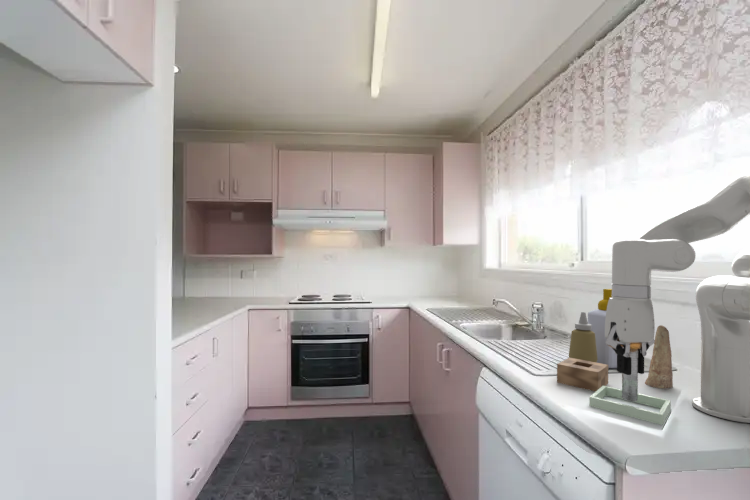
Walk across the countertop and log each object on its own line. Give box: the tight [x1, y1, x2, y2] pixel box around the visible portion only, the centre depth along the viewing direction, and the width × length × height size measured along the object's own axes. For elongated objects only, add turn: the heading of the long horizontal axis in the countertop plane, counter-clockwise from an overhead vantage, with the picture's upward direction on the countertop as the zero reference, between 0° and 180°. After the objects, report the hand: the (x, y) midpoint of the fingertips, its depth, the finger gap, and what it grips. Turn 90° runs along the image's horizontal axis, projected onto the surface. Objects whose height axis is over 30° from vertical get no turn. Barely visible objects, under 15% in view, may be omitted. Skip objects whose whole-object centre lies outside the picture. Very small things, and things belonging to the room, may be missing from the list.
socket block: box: [556, 357, 609, 393], centre depth 104 cm, size 10×10×6 cm
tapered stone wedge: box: [644, 324, 674, 389], centre depth 102 cm, size 6×18×6 cm
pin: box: [621, 343, 641, 403], centre depth 87 cm, size 4×4×13 cm
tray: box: [588, 385, 672, 430], centre depth 87 cm, size 14×12×3 cm
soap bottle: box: [587, 288, 617, 369], centre depth 126 cm, size 9×9×25 cm
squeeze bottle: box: [568, 312, 598, 362], centre depth 120 cm, size 8×8×18 cm
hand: (630, 371), depth 87 cm, fingers closed on pin, 3 cm apart
